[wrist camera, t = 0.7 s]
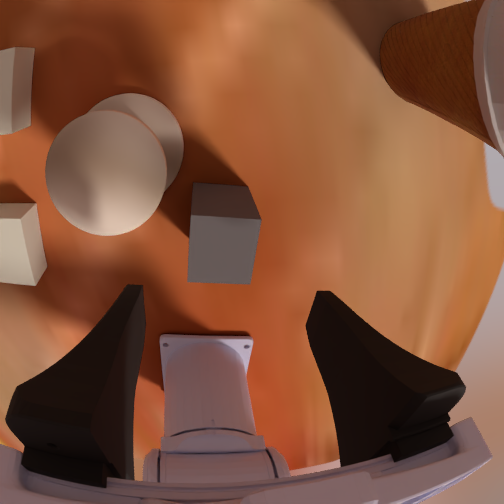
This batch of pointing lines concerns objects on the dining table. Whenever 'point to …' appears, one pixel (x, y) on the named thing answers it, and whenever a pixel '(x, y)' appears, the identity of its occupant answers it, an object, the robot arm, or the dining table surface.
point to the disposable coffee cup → (452, 66)
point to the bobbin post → (114, 164)
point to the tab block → (222, 234)
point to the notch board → (18, 214)
